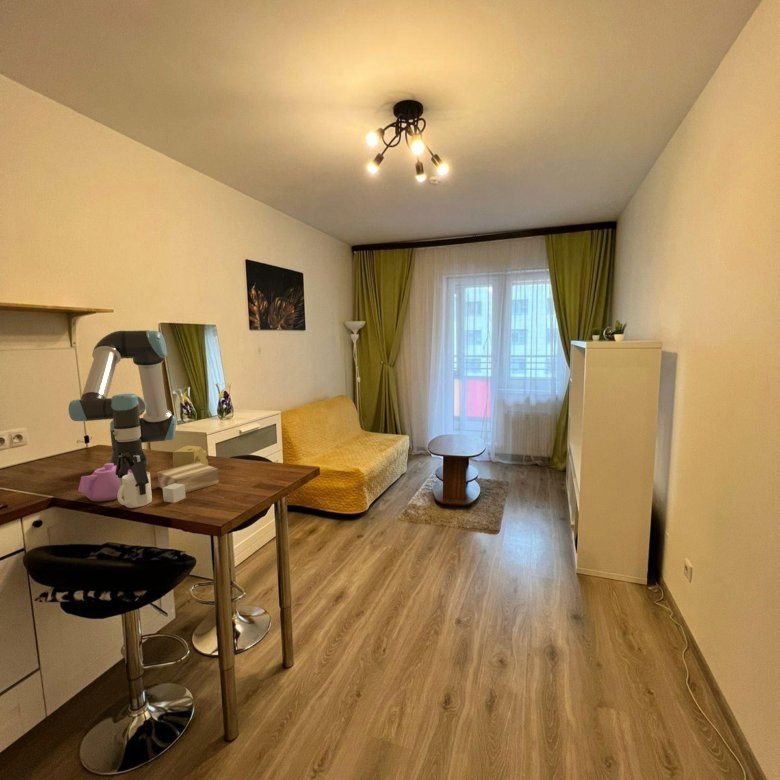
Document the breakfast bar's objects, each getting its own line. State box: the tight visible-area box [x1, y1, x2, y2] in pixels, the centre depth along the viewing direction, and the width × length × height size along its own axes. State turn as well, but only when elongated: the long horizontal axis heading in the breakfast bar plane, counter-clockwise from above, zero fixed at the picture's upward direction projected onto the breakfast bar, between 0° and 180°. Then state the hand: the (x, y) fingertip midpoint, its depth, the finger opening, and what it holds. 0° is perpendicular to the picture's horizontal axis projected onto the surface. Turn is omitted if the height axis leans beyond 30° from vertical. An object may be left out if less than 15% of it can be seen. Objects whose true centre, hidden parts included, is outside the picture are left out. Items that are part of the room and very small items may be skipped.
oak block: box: [156, 462, 220, 494], centre depth 163 cm, size 16×16×6 cm
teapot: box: [77, 462, 132, 502], centre depth 153 cm, size 22×16×12 cm
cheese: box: [172, 445, 209, 468], centre depth 182 cm, size 10×11×10 cm
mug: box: [117, 471, 153, 509], centre depth 142 cm, size 12×8×10 cm
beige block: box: [162, 483, 187, 504], centre depth 147 cm, size 5×5×5 cm
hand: (133, 499), depth 142 cm, fingers open, 13 cm apart
